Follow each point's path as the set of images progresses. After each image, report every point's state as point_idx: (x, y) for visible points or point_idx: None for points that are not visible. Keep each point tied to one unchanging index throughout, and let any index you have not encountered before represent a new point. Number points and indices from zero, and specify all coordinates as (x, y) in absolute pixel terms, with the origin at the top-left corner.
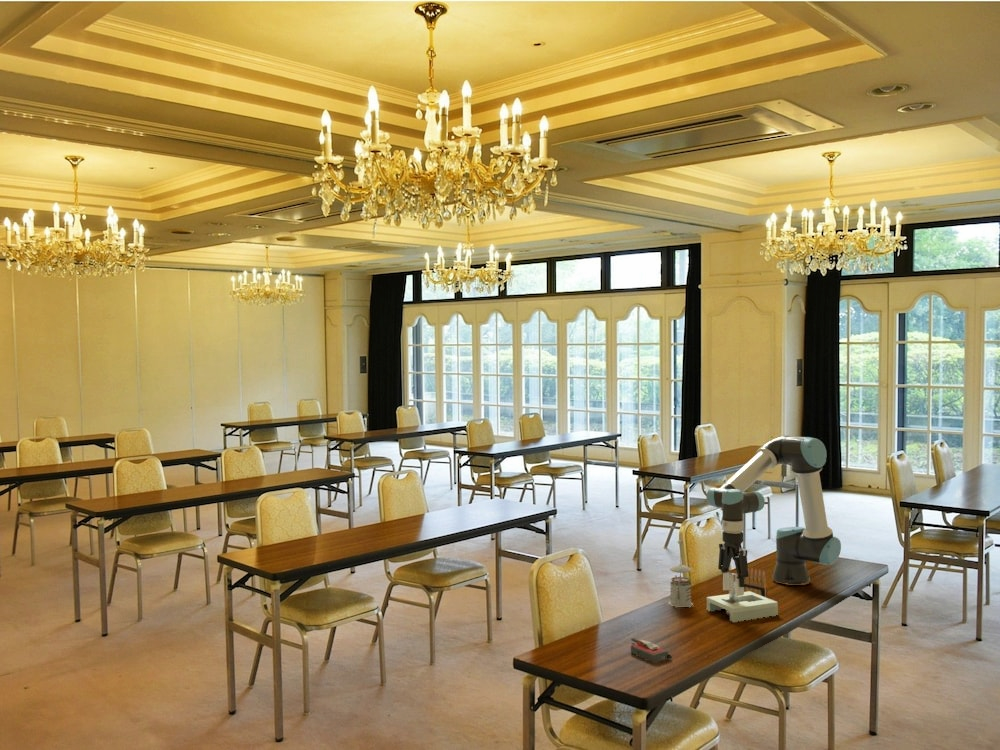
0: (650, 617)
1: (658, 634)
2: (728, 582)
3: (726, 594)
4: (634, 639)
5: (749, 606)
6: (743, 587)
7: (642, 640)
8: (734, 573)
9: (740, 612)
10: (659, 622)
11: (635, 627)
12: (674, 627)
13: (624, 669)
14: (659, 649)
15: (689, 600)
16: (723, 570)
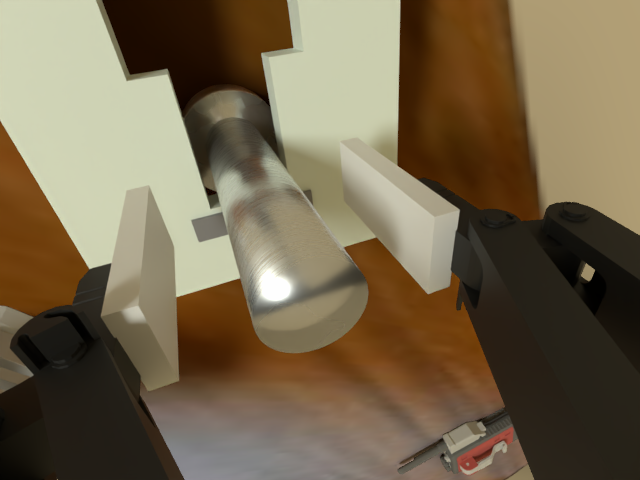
0: (212, 453)
1: (373, 427)
2: (154, 242)
3: (18, 142)
4: (410, 469)
5: (396, 110)
6: (392, 166)
7: (473, 470)
8: (285, 284)
9: None
10: (274, 430)
11: (301, 472)
12: (335, 395)
13: (496, 456)
14: (505, 436)
15: (10, 354)
16: (152, 417)
